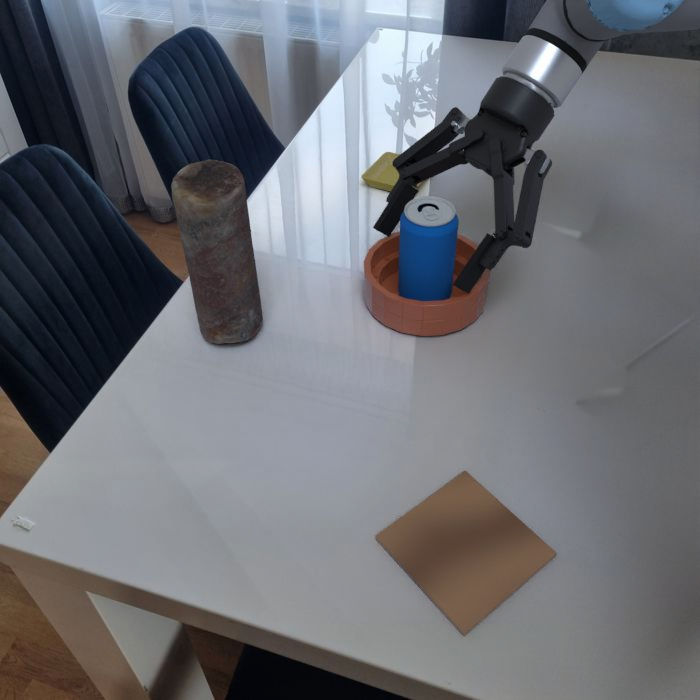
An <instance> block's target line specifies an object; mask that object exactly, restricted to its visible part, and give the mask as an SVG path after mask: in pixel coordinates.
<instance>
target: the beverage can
mask: <svg viewBox="0 0 700 700" xmlns="http://www.w3.org/2000/svg"><path fill="white" fill-rule="evenodd" d="M456 210H457V209H456V207H455V205H454V204H453V203H452V202H451V201H450V200H447V199H445V198H443V197H439V196H435V195H434V196H433V195H431V196H430V195H425V196H418V197H414V199H413V200H411V201H410V202H408V203H407V204H406V206H405V209H404V211H403V213H402V215H401V217H400V221H399V232H400V237H399V274H398V292H399V295H400V296H401V297H403V298H406V299H412V300H418V301H441V300H446V299H449V298H450V296H451V293H452V285H453V275H454V265H455V255H456V245H457V235H458V234H459V225H460V224H459V223H460V220H459V216H458V213H457V211H456Z"/></svg>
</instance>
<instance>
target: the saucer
mask: <svg viewBox="0 0 700 700" xmlns="http://www.w3.org/2000/svg"><path fill="white" fill-rule="evenodd" d="M400 154H401V153H396V152H393V151H386V152H384V153H382V154H381V155H380V156H379V158H378V159H377V160H376V161H375V162H374V163H373V164H372V165H371V166H370V167H369V168H368V169H366V171H365V172H364V173H363V174H361V176H360V178H361V179H362V180H363V181H364V182H365V183H366V184H367V185H369V186H370V187H371V188H372V187H373V188H375V189H379V190H384V191H388V192H391V190H392V189H393V187H394V185H395V184H396V182H397V181H398V179H399V173H398V171H397V170H396V168H395V167H393V165H392V163H393V160H394V159H395V158H396V157H398V156H399V155H400ZM422 184H423V182H421V183H419V184H417V185H418V188H419V187H420V186H421V185H422ZM414 188H415V187H414ZM418 188H416V189H417V190H418Z"/></svg>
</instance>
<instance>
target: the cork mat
mask: <svg viewBox="0 0 700 700" xmlns="http://www.w3.org/2000/svg"><path fill="white" fill-rule="evenodd" d="M375 540H376V541H377V543H378V544H379V545H380V546H381V547H382V548H383V549H384V551H385V552H386V553H388V555H389V556H390V557H391V559H393V560H394V561H395V563H396V564H397V565H398V566H399V567H400V569H402V570H403V571H404V573H406V575H407V576H408V577H409V578H410V579H411V580H412V581H413V582H414V584H415V585H416V586H417V587H418V588H419V589H420V590H421V591H422V592H423V593H424V595H425V596H427V598H428V599H429V600H430V601H431V602H432V603H433V605H435V607H436V608H437V609H438V610H439V611H440V612H441V613H442V615H444V616H445V618H446V619H447V620H448V621H449V622H450V623H451V624H452V625H453V626H454V627H455V629H456V630H457V631H458V632H459V633H460V634H461V635H462V636H463V637H466V636H467V635H468V634H469V633H470V632H471V631H473V629H475V628H476V627H477V626H478V625H479V624H481V623H482V622H483V621H484V620H485V619H486V618H487V617H489V616H490V615H491V614H492V613H493V612H494V611H495V610H497V608H500V606H501V605H502V604H503V603H505V602H506V601H507V600H509V598H510V597H511V596H513V595H514V594H515V593H516V592H517V591H518V590H519V589H521V588H522V587H523V586H524V585H525V584H526V583H528V582H529V581H530V580H531V579H532V578H533V577H534V576H535V575H537V574H538V573H539V572H540V571H542V569H544V568H545V567H546V566H547V565H548V564H549V563H551V562H552V561H553V560H554V559H555V558H556V557H557V554H558V553H557V551H555V549H553V548H552V547H551V546H550V545H549V544H548V543H547V542H545V541H544V540H543V539H542V538H541V537H540V536H539V535H537V533H536V532H534V531H533V529H531V528H530V527H528V525H527V524H526V523H524V521H522V519H520V518H519V517H518V516H517V515H516V514H515V513H513V512H512V511H511V510H510V509H509V508H508V507H507V506H505V504H503V503H502V502H501V501H500V500H499V499H498V498H497V497H496V496H494V494H492V493H491V492H490V491H489V490H488V489H487V488H486V487H485V486H483V485H482V484H481V482H479V481H478V480H477V479H476V478H475V477H474V476H472V475H471V474H470V473H469V472H468V471H467V470H464V471H462V472H461V473H459V474H457V476H455V477H454V478H452V480H450V481H448V482H447V483H446V484H444V485H443V486H442V487H440V488H439V489H438V490H436V491H435V492H433V493H432V494H431V495H430V496H428V497H426V498H425V499H424V500H422V501H421V502H420V503H419V504H417V505H416V506H414V507H413V508H411V510H409V511H407V512H406V513H405V514H404V515H402V516H401V517H399V518H398V519H396V520H395V521H394V522H392V524H390V525H388V526H387V527H386V528H384V529H383V530H382V531H380V532H379V533H377V534H376V535H375Z"/></svg>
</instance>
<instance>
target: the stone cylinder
mask: <svg viewBox="0 0 700 700" xmlns="http://www.w3.org/2000/svg"><path fill="white" fill-rule="evenodd" d="M170 187H171V197H172V203H173V207H174V211H175V216H176V221H177V225H178V231H179V234H180V240H181V245H182V249H183V254H184V259H185V263H186V268H187V271H188V277H189V282H190V287H191V293H192V298H193V303H194V308H195V312H196V313H195V314H196V318H197V322H198V326H199V331H200V334H201V336H202V338H203V340H206V341H207V342H208V343H211V344H213V343H214V344H217V345H221V344H235V343H243V342H246V341H249V340H250V339H252V338H254V336H255V335H256V334H257V333H258V332H259V330H260V328H261V327H262V325H263V321H264V317H263V309H262V301H261V294H260V293H261V292H260V286H259V279H258V273H257V265H256V264H257V263H256V258H255V250H254V244H253V236H252V230H251V221H250V214H249V206H248V198H247V190H246V181H245V177H244V175H243V173H242V171H241V170H240V169H239V168H238V167H237V166H235V164H232V163H229V162H226V161H222V160H218V159H211V158H210V159H209V158H208V159H205V160H201V161H197V162H194V163H189V164H186V165H185V166H183V167H182V168H181V169H180V170H179V171H178V172H177V173H176V174H175V175H174V177H173V178H172V181H171V185H170Z"/></svg>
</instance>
